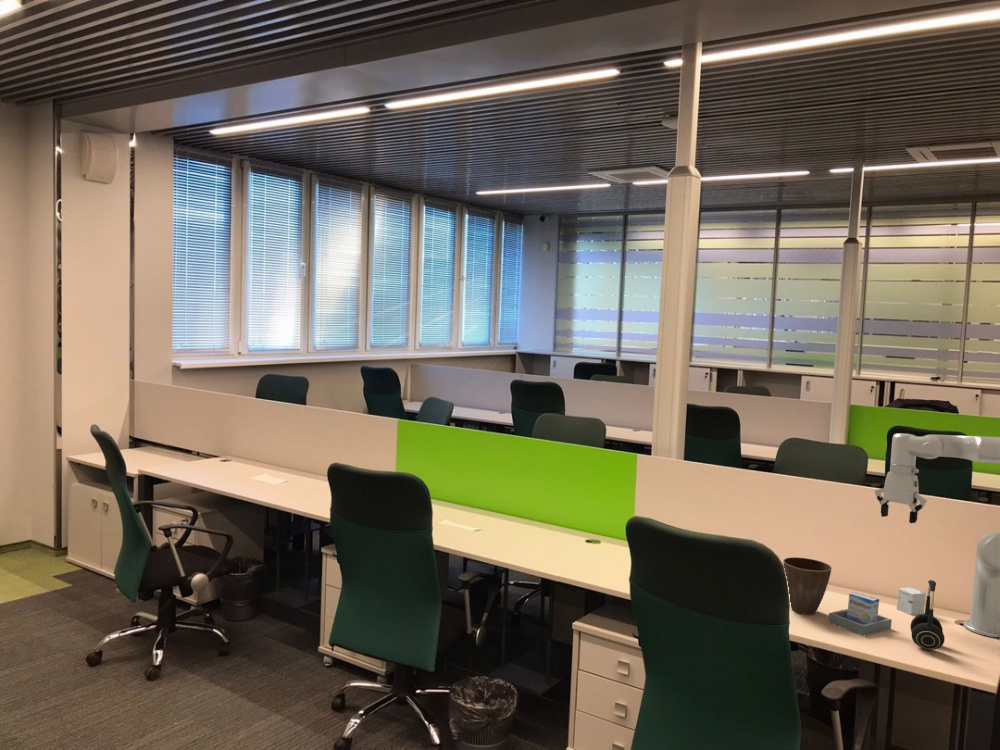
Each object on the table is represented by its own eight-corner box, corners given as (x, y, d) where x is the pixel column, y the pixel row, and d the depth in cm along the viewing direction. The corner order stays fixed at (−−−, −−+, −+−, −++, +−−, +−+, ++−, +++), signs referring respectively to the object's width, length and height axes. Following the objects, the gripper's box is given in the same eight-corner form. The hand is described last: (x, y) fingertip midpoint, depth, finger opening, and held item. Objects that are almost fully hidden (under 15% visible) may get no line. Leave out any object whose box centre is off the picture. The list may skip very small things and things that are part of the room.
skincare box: (896, 608, 263) (898, 588, 262) (909, 607, 265) (911, 587, 264) (911, 615, 257) (913, 594, 257) (924, 614, 259) (926, 593, 259)
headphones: (940, 641, 234) (946, 577, 233) (944, 658, 221) (951, 590, 220) (908, 634, 238) (914, 572, 237) (910, 651, 225) (917, 584, 224)
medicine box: (846, 619, 246) (848, 593, 245) (852, 617, 249) (854, 591, 248) (871, 627, 240) (874, 600, 239) (877, 625, 243) (879, 598, 242)
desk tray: (890, 628, 242) (891, 619, 242) (863, 635, 234) (863, 626, 234) (855, 615, 253) (856, 606, 252) (828, 622, 245) (829, 612, 244)
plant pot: (802, 621, 244) (806, 572, 243) (769, 604, 258) (773, 558, 257) (837, 617, 250) (841, 569, 249) (803, 601, 263) (807, 556, 263)
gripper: (934, 473, 254) (929, 524, 255) (883, 465, 269) (879, 513, 269) (922, 474, 250) (918, 526, 251) (871, 466, 264) (867, 514, 265)
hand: (898, 519), depth 260 cm, fingers open, 9 cm apart
